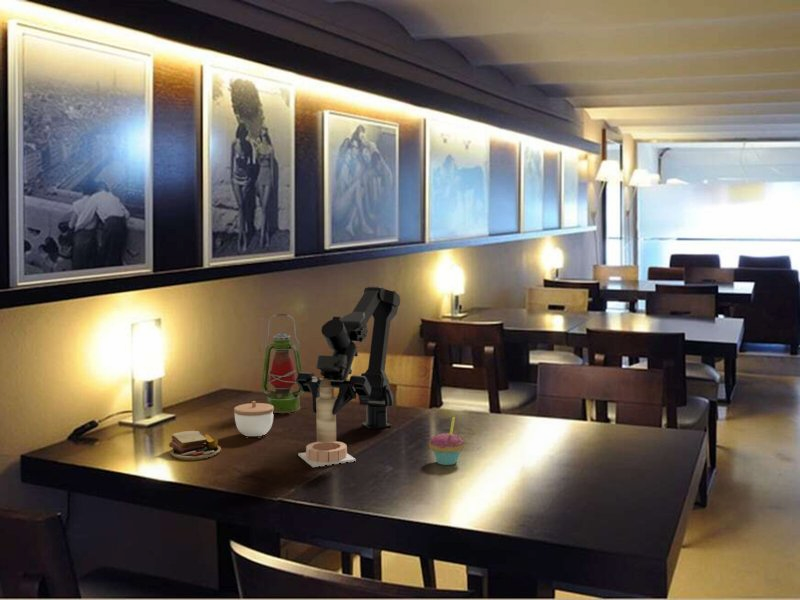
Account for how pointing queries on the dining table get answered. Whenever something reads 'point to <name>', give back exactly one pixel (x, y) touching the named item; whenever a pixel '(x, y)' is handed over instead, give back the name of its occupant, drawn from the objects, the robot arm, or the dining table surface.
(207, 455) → the toy sandwich meal
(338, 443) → the ring
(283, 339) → the lantern
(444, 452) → the cupcake
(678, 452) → the dining table surface
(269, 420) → the lidded jar
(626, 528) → the dining table surface
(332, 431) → the pepper mill
